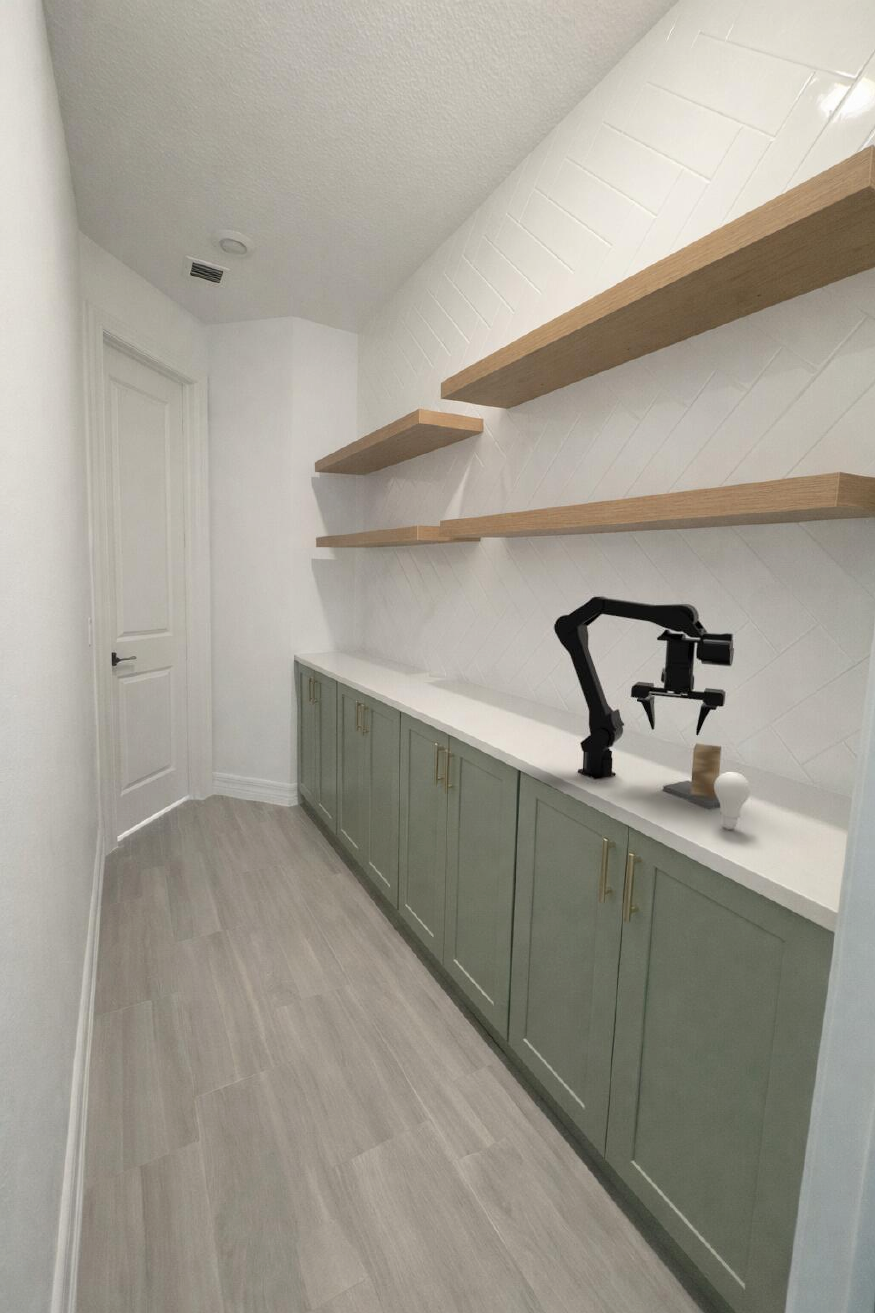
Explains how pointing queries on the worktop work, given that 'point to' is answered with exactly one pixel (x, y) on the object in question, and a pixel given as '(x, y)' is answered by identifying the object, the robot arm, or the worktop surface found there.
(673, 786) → the charcoal mat
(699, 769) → the oak block
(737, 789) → the lightbulb
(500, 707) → the worktop surface
